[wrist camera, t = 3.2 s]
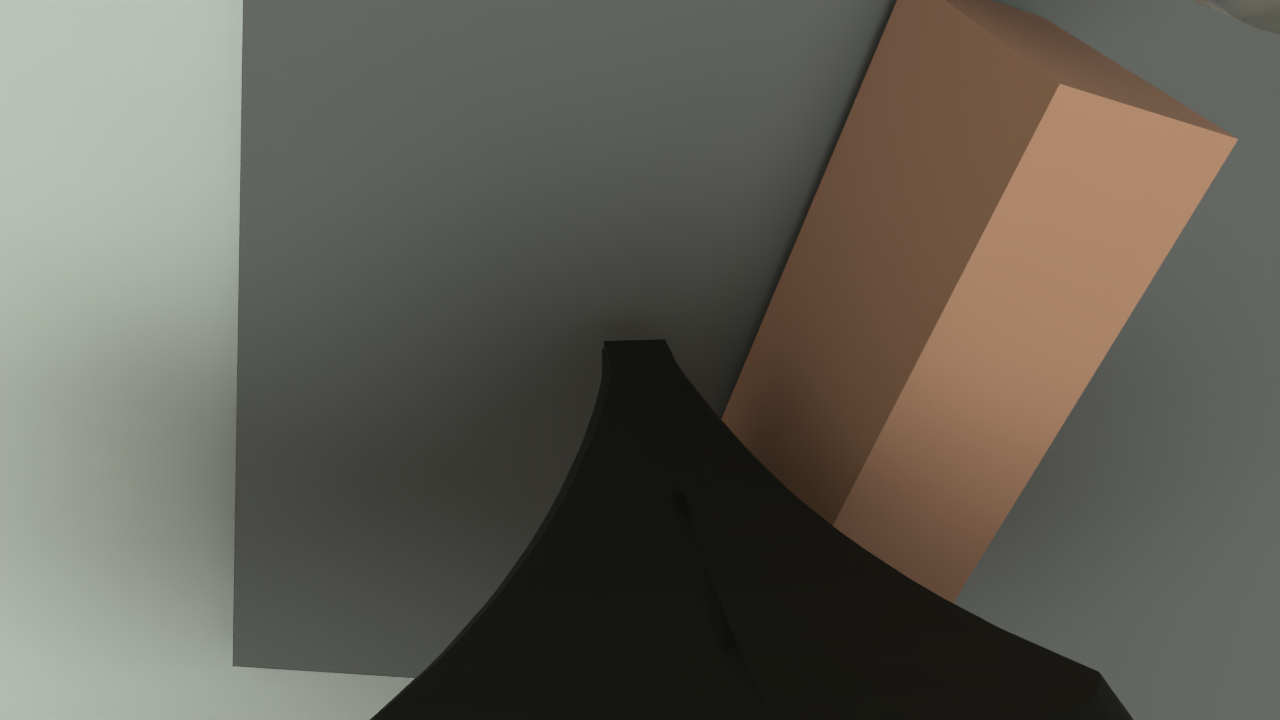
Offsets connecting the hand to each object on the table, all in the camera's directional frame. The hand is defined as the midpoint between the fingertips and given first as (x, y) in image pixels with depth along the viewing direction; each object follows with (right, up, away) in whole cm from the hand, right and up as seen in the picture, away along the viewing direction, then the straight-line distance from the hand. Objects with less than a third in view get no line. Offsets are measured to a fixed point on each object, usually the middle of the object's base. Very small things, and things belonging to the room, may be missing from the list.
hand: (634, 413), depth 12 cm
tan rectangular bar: (+2, 0, +1) cm, 2 cm away
